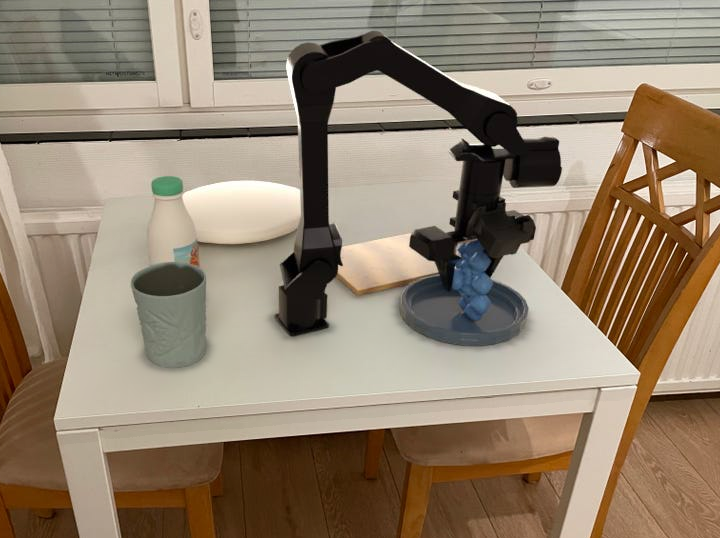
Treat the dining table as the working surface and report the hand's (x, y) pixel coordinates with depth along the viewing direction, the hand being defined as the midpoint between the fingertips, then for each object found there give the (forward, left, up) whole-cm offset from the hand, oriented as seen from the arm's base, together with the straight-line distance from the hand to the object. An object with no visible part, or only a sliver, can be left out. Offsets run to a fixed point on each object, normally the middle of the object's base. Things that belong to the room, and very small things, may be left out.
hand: (466, 286), depth 115 cm
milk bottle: (-39, +23, -5) cm, 46 cm away
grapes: (0, 0, -5) cm, 5 cm away
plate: (-19, +47, -5) cm, 51 cm away
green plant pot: (-44, +8, -5) cm, 45 cm away
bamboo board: (-2, +20, -5) cm, 21 cm away
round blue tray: (0, 0, -5) cm, 5 cm away
